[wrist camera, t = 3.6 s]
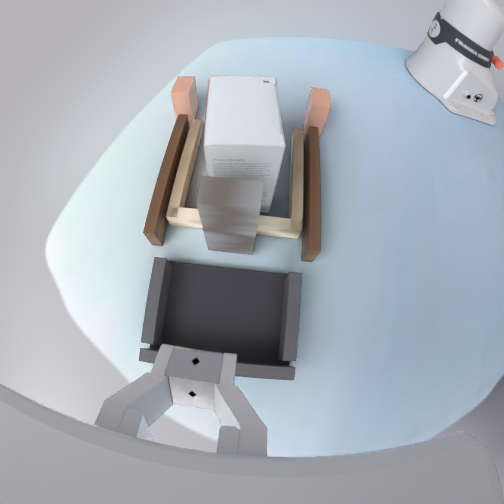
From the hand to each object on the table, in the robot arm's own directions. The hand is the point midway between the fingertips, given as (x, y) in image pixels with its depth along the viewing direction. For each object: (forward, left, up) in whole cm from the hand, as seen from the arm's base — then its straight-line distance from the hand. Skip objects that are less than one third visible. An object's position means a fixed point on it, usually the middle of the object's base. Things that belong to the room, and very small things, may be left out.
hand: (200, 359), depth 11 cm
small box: (0, -17, -14) cm, 22 cm away
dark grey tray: (0, -3, -13) cm, 14 cm away
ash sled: (0, -17, -13) cm, 21 cm away
